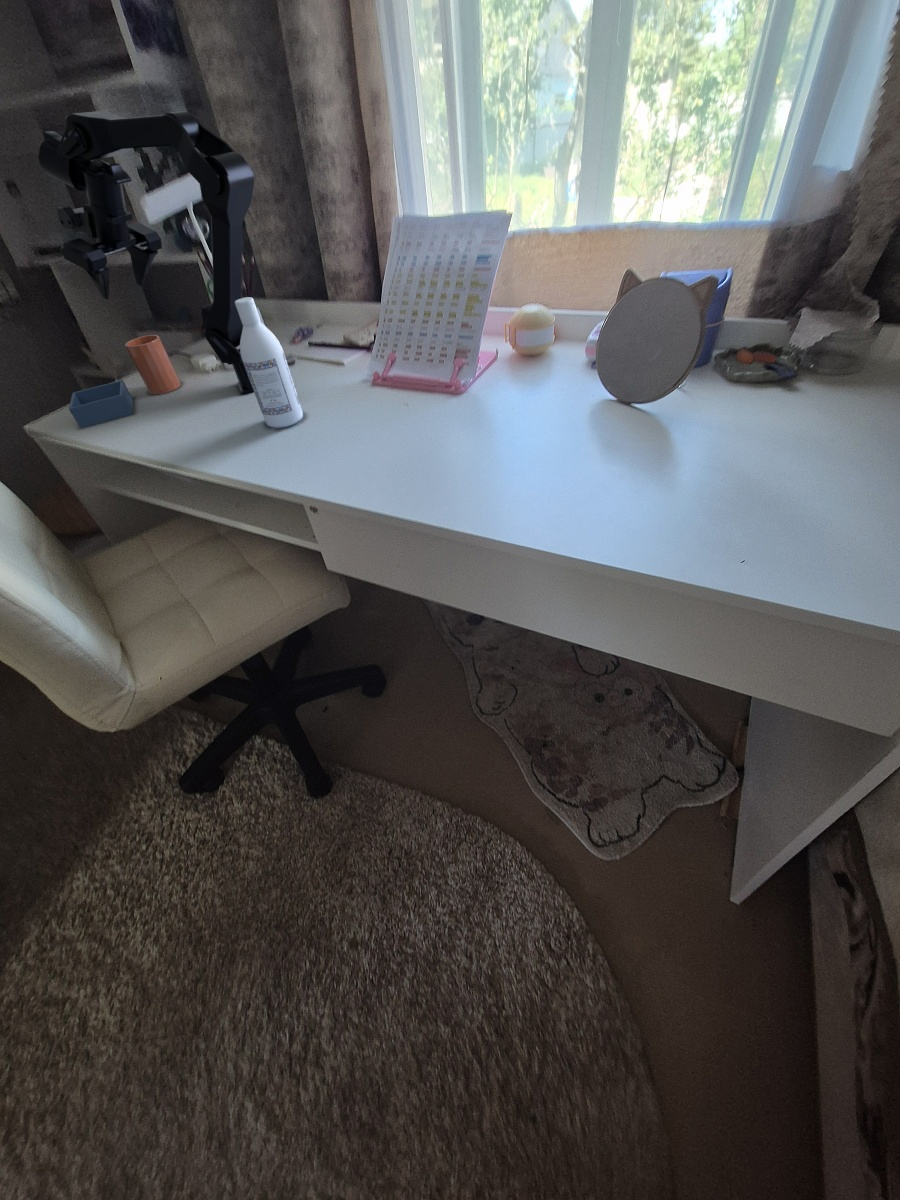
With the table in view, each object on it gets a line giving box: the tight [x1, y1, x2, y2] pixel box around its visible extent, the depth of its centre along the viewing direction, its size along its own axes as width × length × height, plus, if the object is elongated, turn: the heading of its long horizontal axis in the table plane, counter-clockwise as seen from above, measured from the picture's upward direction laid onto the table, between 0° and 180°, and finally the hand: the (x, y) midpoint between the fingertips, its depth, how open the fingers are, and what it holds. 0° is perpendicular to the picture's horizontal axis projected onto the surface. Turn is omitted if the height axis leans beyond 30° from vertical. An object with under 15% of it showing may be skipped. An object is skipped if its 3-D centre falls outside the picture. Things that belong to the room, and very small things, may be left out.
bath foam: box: [235, 296, 304, 429], centre depth 90 cm, size 7×7×20 cm
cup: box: [124, 334, 182, 395], centre depth 113 cm, size 7×7×10 cm
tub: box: [68, 379, 134, 429], centre depth 108 cm, size 10×10×4 cm
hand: (122, 291), depth 107 cm, fingers open, 9 cm apart
